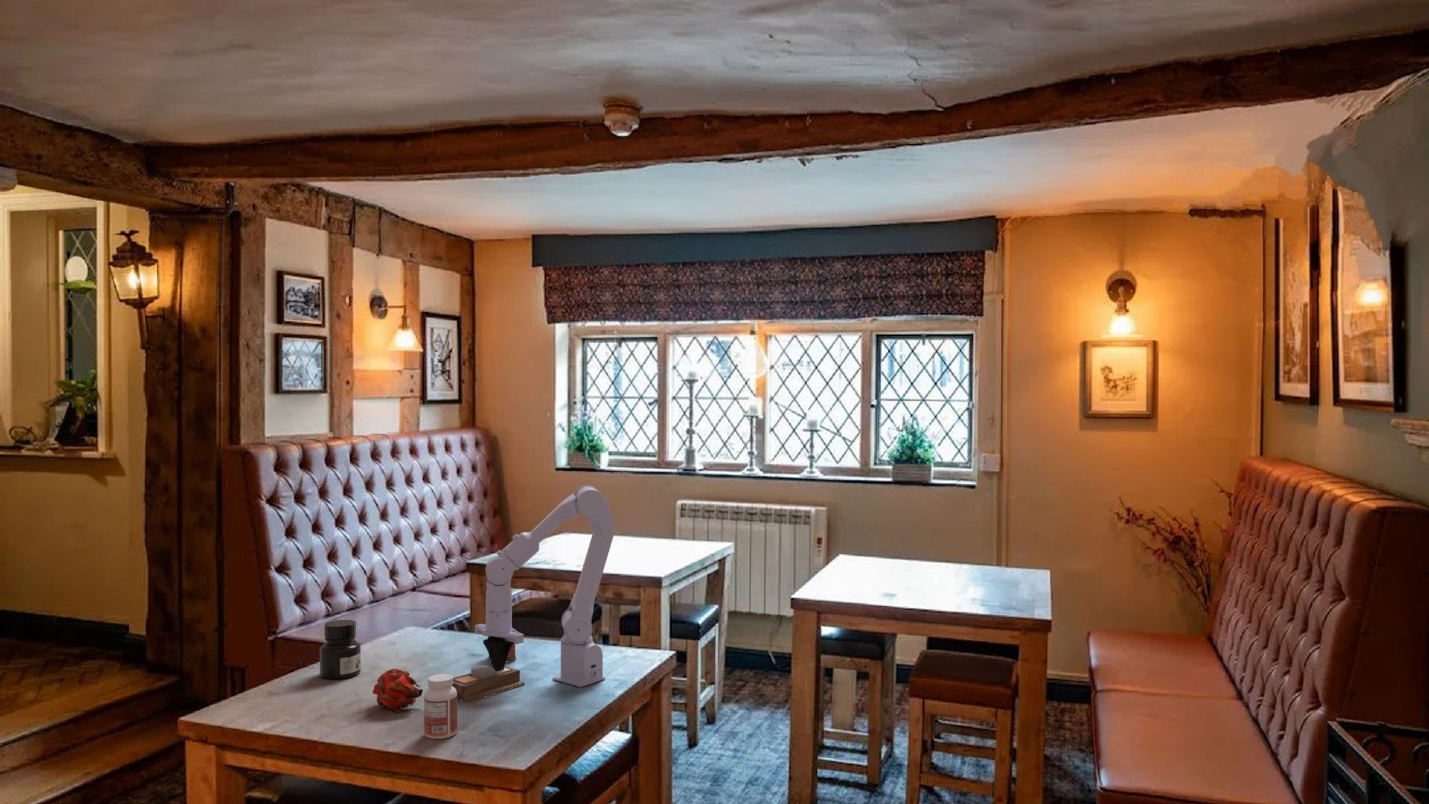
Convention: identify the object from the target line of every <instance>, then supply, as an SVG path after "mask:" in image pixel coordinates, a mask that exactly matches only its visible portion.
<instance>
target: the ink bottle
mask: <svg viewBox="0 0 1429 804" xmlns="http://www.w3.org/2000/svg"><path fill="white" fill-rule="evenodd" d="M356 636H357V622H356V620H353V619H336V620H331V621H326V622H325V623H324V641H325V642H324V644H322V646H320V647H319V648H320V649H319V676H320V677H321V678H323V679H327V680H342V679H350V678H352V677H355V676H357V675H359V674H360V672H361V671H362V667H361V665H362V664H361V663H362V660H361V659H362V656H361V655H362V654H361V653H362V652H361V649H362V647H361V646H362V645H361V644H360V643H359V642H358V641H357V640H356Z"/></svg>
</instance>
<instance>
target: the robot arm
mask: <svg viewBox="0 0 1429 804" xmlns="http://www.w3.org/2000/svg"><path fill="white" fill-rule="evenodd" d="M579 514H581V516H583V517H584V518H585V519H586V520H587V522H588V523H589V525H590V526H591V528H592V529H593V532H592V534H591V537H590V541H589V545H588V548H587V551H586V554H585V559H584V561H583V564H582V568H581V572H580V574H579V578H578V581H577V585H576V589H575V591H574V595H573V596H572V599H571V601H570V604H569V606H568V608H567V609H566V610H565V611H564V612H563V614H562V616H561V626H562V628H563V635H562V637H560V674H558V675H555V676H553V677H551V678H552V680H554V681H558V682H561V683H565V684H569V685H572V686H576V687H578V688H581V687H582V688H583V687H585V686H587V685H591V684H594V683H598V682H600V681H603V680H605V679H606V677H605V676H604V675H603V672H604V671H603V668H604V667H603V666H604V665H603V664H604V663H603V660H604V659H603V657H604V655H603V650H602V647H600V646H599V645H597V644H596V643H595V642H594V640H593V636H592V632H593V626H592V619H593V616H594V615H593V614H594V606H595V599H596V597H597V593H598V591H599V586H600V583H601V581H602V577H603V574H604V570H605V568H606V563H607V559H608V557H609V553H610V550H611V547H612V543H613V541H614V539H613V538H614V535H615V533H616V524H615V521H614V517H613V514H612V510H611V508H610V504H609V502H608V501H607V500H606V498H605V497H604V496H603V494H602V493H601V492H600V491H599V490H598V489H597V488H596V487H594V486H593V485H583V486H580V487H579V488H578V489H577V490H576V491H575V493H571V494H570V495H569V496H567V497H566V498H565V499H564V500H562V501H561V502H560V503H559V504H558V505H557V506H556V507H555V508H554V509H553V510H552V511H551V512H550V513H549V514H547V516H546V517H544V518H543V519H542V520H541V522H540V523H539V524H537V525H536V526H535V527H534V528H533V529H532V530H531V531H530V532H529V531H528V532H526V531H525V532H523V531H522V532H521V533H520V534H517V533H516V534H515V535H513V536H512V541H511V542H509V544H507V545H506V546H505V547H504V548H503V549H502V550H501V549H498V550H497V551H496V555H495V556H492V557H491V558H490V559H489V560H488V561H487V563H486V564H485V565H486V566H485V568H484V570H485V575H486V578H487V579H486V580H487V581H486V584H485V585H486V590H485V623H478V624H475V625H474V634H475V635H482V636H484V637H487V638H486V639H483V640H482V641H483V642H482V644H483V646H484V648H485V649H486V651H487V653H488V657H489V656H490V658H489V659H490V662H491V667H493V668H494V669H495V671H500V670H504V667H505V666H506V663H507V662H506V659H507V656H508V653H509V651H510V649H511V647H512V645H513V643H514V644H515V645H521V644H523V643H524V635H525V634H524V633H521V632H519V631H517V629H516V630H514V629H515V628H513V625H512V623H513V619H512V616H513V611H512V610H513V608H512V607H513V600H512V599H513V590H512V588H511V584H512V583H511V582H512V578H513V576H514V572H515V571H518V570H520V569H521V568H522V567H523V566H524V565H525V564H526V563H527V562H529V560H530V559H532V558H533V557H534V556H535V555H536V554H537V553H538V552H539V551H540V543H541V542H543V541H544V540H545V539H546V538H547V537H548V536H550V535H551V534H553V532H554V531H555V530H557V529H558V528H559V527H560V526H561V525H563V524H564V523H565V522H566V521H571V520H576V519H580V516H579Z"/></svg>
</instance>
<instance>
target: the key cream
mask: <svg viewBox="0 0 1429 804" xmlns="http://www.w3.org/2000/svg"><path fill="white" fill-rule="evenodd" d="M506 672H510V669H507V668H504V670H500V671H495V676H496V675H500V674H503V673H506Z"/></svg>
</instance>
